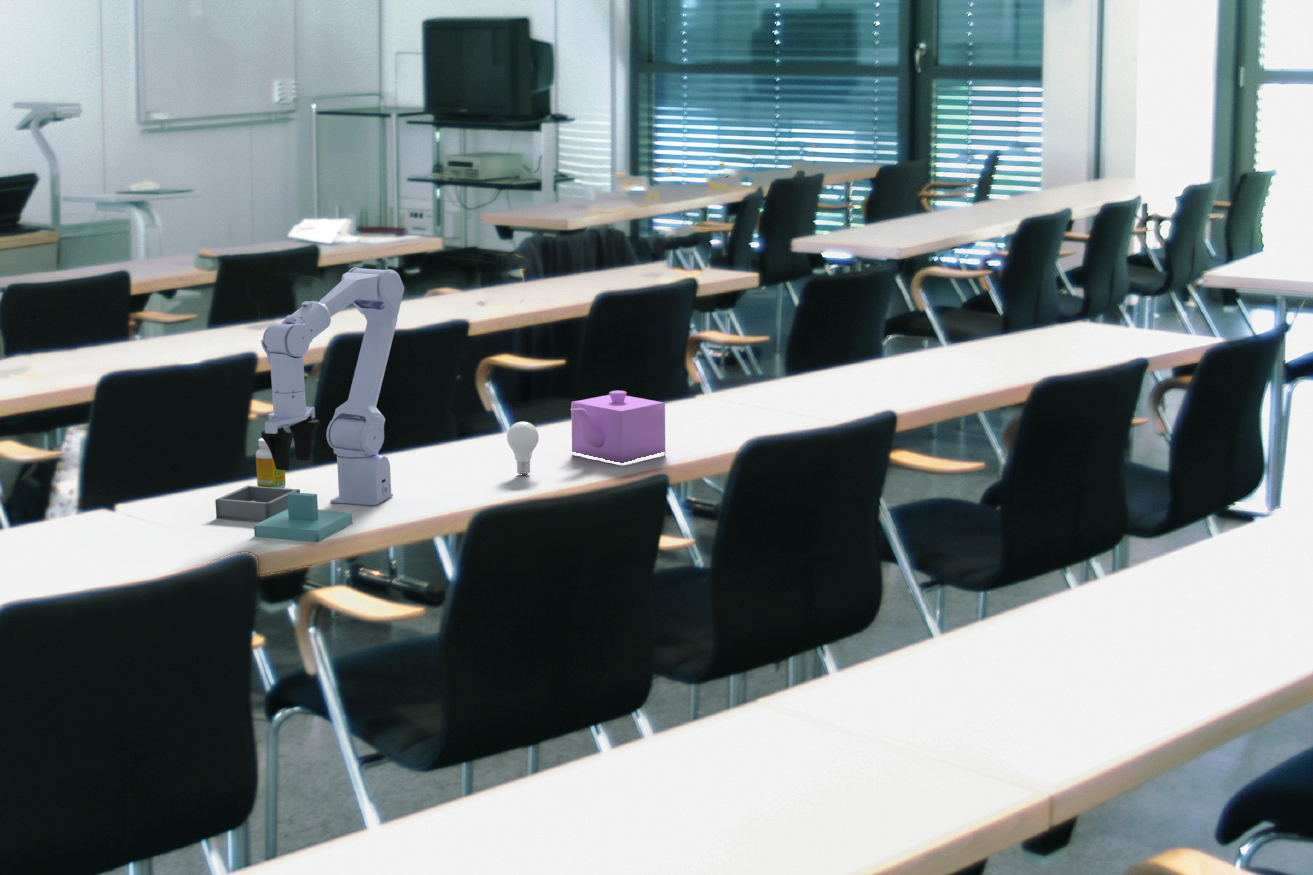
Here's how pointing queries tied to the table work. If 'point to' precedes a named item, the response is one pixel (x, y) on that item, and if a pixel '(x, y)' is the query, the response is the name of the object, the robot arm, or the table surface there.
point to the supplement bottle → (268, 468)
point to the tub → (253, 503)
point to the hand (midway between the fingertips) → (293, 464)
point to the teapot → (618, 427)
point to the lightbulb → (522, 444)
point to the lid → (303, 520)
